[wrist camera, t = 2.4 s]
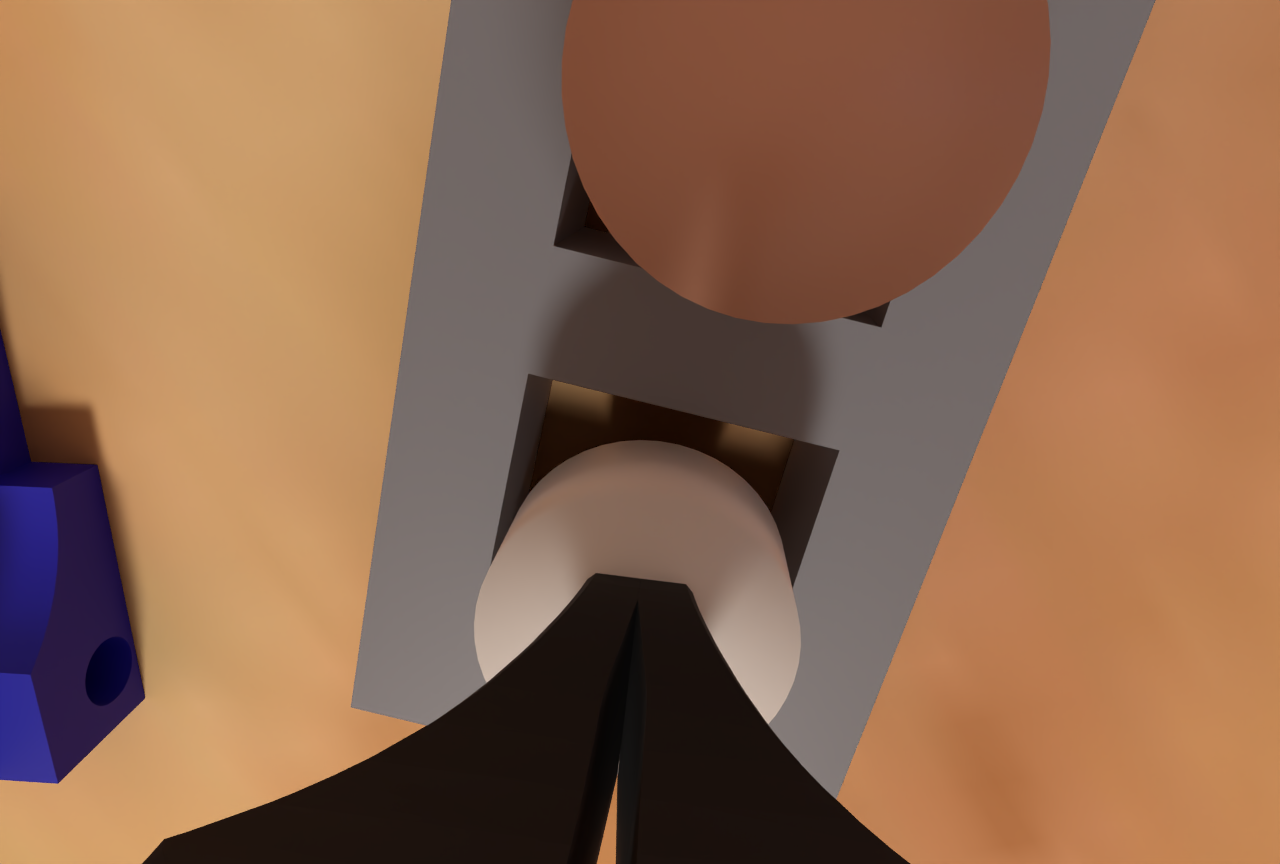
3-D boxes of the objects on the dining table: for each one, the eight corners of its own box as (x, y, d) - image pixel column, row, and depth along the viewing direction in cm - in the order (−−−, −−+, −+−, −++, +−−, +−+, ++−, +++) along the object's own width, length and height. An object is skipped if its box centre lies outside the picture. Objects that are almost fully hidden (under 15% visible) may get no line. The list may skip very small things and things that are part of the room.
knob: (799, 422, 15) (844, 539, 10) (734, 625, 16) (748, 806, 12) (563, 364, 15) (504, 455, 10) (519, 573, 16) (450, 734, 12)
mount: (1313, -697, 11) (1582, -1068, 8) (803, 701, 18) (826, 821, 15) (657, -871, 11) (640, -1329, 7) (413, 607, 18) (350, 706, 15)
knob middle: (958, -15, 11) (1134, -130, 7) (858, 294, 13) (948, 370, 8) (650, -93, 11) (619, -263, 7) (584, 226, 13) (521, 264, 8)
